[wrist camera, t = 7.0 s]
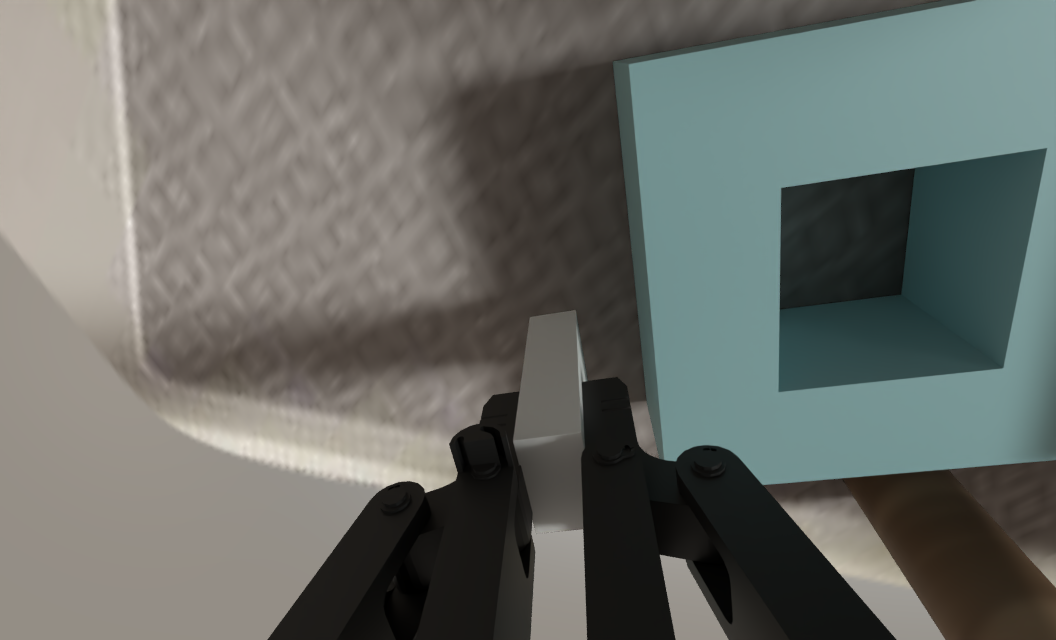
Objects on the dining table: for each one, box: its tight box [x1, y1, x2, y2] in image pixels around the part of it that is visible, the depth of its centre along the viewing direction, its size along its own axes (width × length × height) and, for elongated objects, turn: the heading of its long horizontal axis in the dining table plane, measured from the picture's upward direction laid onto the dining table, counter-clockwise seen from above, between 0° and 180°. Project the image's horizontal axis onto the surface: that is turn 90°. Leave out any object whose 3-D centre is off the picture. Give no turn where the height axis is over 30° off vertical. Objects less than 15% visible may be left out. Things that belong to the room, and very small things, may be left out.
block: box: [613, 0, 1056, 485], centre depth 16 cm, size 12×12×5 cm
